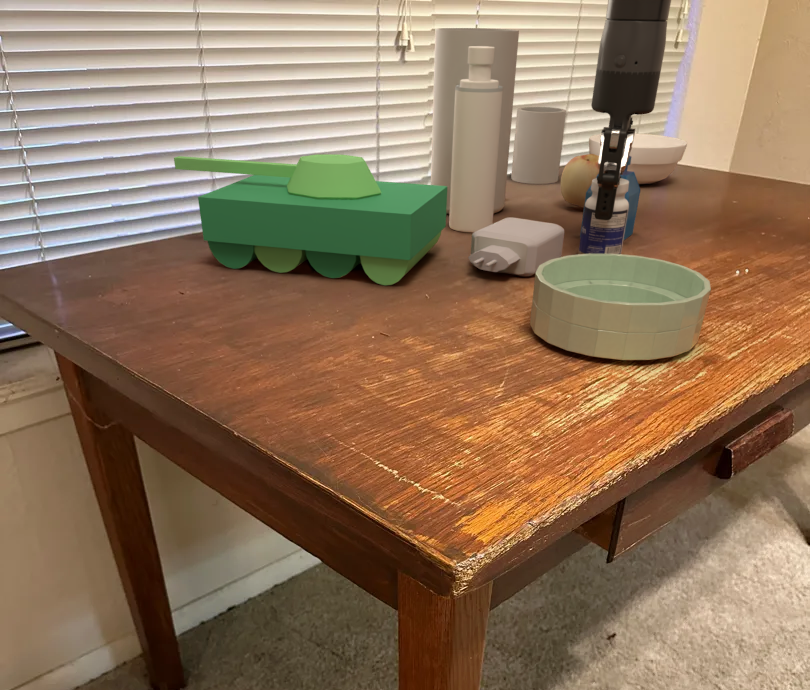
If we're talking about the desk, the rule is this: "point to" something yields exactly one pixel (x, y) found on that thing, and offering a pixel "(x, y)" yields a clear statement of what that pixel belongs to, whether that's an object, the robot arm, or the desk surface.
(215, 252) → the toy tank
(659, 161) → the bowl
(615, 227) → the pill bottle
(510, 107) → the cylinder vase
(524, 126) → the cup
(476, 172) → the spray bottle
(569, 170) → the apple
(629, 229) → the perfume bottle
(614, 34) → the robot arm
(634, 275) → the ceramic bowl
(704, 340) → the desk surface
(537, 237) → the charger
